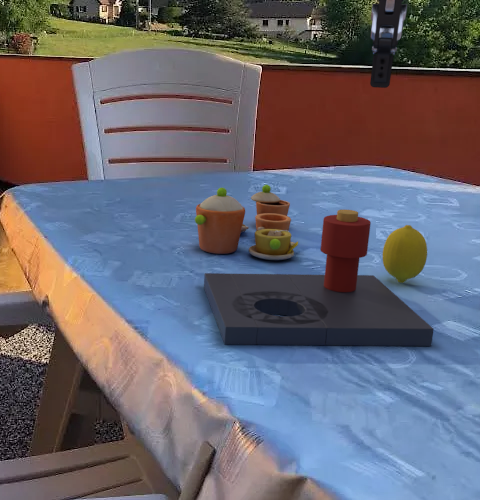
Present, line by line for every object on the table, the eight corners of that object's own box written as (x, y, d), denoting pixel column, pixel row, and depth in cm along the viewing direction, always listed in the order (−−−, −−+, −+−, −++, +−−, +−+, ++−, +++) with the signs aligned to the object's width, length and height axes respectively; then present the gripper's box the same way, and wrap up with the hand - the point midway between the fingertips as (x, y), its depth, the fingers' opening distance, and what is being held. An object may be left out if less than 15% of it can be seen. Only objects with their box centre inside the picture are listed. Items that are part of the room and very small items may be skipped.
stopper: (354, 280, 89) (362, 207, 87) (369, 295, 84) (378, 217, 81) (311, 280, 89) (319, 206, 86) (324, 294, 84) (332, 216, 81)
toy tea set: (297, 267, 101) (303, 200, 98) (189, 258, 104) (192, 193, 101) (295, 224, 126) (299, 170, 123) (207, 218, 129) (210, 165, 126)
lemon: (400, 291, 92) (408, 231, 89) (370, 278, 97) (377, 221, 94) (432, 286, 94) (440, 228, 92) (401, 274, 99) (408, 218, 97)
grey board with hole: (371, 289, 92) (373, 275, 92) (431, 346, 75) (434, 328, 74) (203, 287, 91) (204, 273, 91) (224, 344, 74) (225, 326, 74)
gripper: (435, -65, 76) (414, 90, 80) (427, -48, 89) (408, 85, 93) (362, -64, 78) (345, 87, 83) (364, -48, 91) (349, 82, 96)
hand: (379, 85), depth 88 cm, fingers open, 8 cm apart
